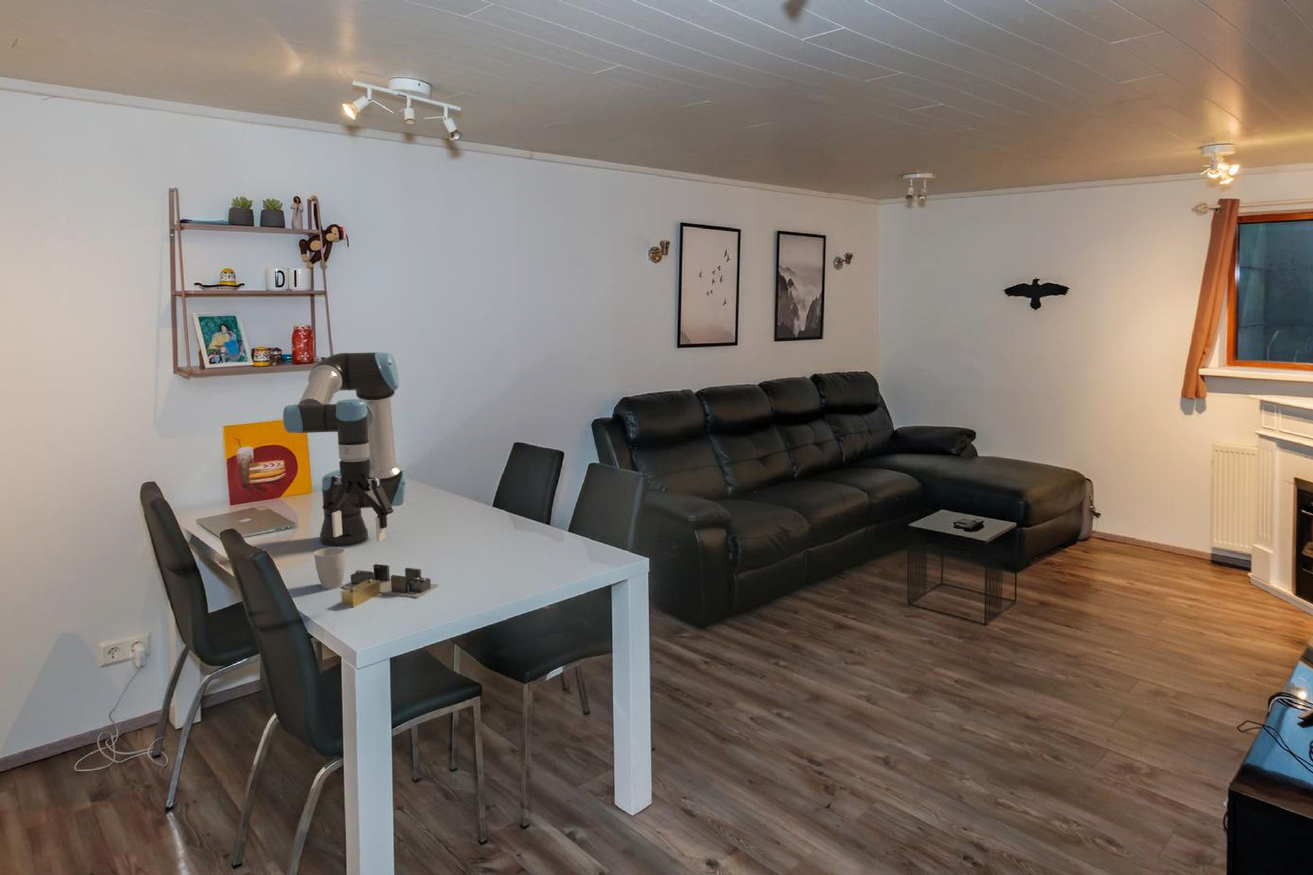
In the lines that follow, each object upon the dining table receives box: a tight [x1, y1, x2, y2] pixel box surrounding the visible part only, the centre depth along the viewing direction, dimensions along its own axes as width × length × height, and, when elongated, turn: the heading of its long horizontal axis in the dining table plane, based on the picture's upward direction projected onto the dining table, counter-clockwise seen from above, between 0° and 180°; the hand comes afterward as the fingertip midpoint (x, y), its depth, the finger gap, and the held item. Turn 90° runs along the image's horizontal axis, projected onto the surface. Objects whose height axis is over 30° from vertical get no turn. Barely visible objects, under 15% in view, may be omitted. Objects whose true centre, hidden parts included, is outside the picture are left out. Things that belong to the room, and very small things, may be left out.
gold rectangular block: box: [341, 579, 382, 608], centre depth 222 cm, size 11×4×5 cm, turn 160°
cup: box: [313, 546, 346, 590], centre depth 232 cm, size 8×8×10 cm
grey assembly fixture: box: [350, 563, 432, 593], centre depth 231 cm, size 23×8×4 cm, turn 72°
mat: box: [342, 578, 439, 599], centre depth 231 cm, size 24×10×1 cm, turn 72°
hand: (359, 537), depth 219 cm, fingers open, 13 cm apart
